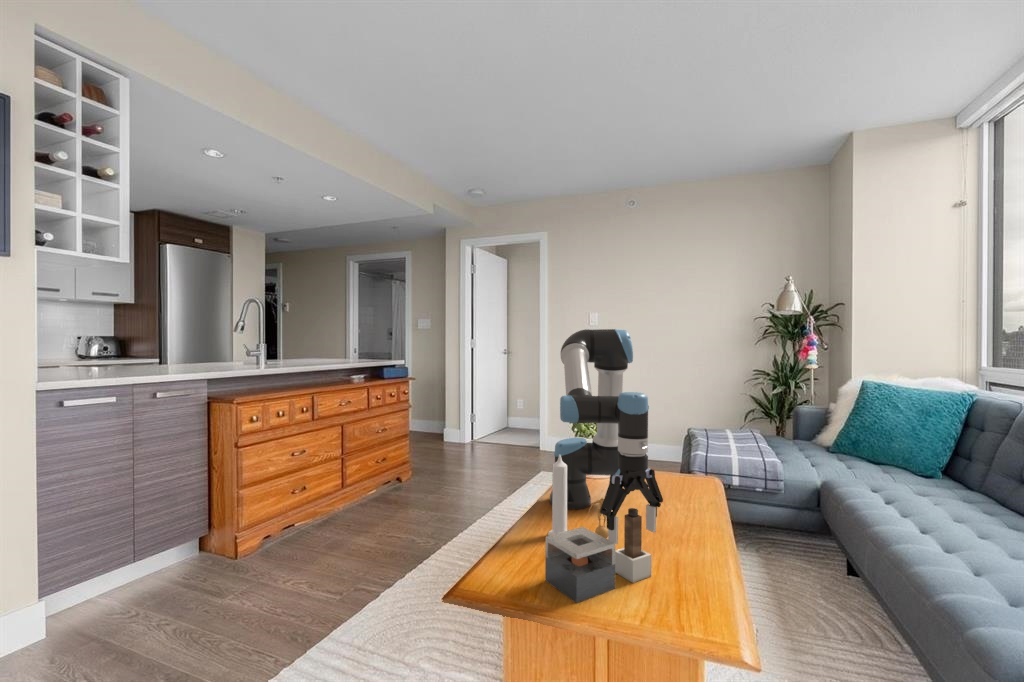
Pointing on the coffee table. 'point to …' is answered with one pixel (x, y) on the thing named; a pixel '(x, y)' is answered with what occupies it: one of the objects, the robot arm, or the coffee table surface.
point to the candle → (559, 497)
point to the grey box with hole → (584, 578)
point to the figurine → (600, 529)
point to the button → (580, 561)
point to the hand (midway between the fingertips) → (632, 536)
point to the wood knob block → (632, 534)
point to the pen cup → (632, 566)
